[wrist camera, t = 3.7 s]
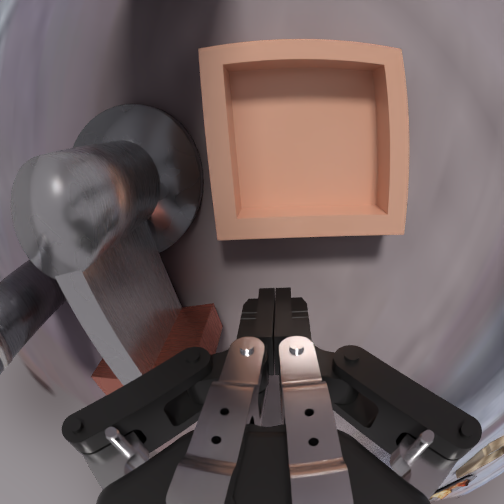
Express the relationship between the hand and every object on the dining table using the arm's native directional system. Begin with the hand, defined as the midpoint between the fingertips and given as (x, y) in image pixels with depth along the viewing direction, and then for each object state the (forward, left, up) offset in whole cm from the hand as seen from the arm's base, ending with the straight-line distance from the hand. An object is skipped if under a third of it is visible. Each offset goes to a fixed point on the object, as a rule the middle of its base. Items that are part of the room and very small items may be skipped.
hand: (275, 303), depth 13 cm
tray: (-2, -8, -3) cm, 9 cm away
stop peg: (+17, 0, -3) cm, 17 cm away
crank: (+7, -3, -2) cm, 8 cm away
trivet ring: (-59, +58, -3) cm, 83 cm away
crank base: (+8, -6, -3) cm, 11 cm away
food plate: (-64, +97, -4) cm, 116 cm away
